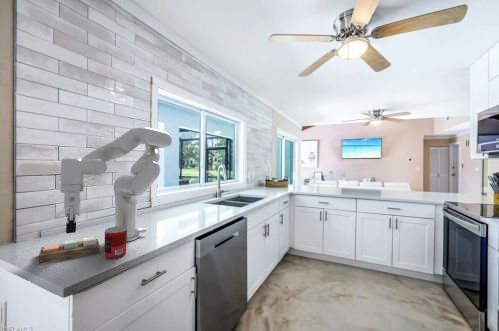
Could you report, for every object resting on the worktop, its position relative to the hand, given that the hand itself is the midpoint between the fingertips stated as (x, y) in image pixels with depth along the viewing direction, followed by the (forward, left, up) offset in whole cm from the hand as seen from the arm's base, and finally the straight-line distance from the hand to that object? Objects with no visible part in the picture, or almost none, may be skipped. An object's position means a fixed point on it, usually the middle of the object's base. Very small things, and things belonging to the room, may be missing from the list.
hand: (71, 232), depth 94 cm
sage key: (0, 0, -7) cm, 7 cm away
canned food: (-15, +12, -9) cm, 21 cm away
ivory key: (-6, 0, -7) cm, 9 cm away
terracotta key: (+6, 0, -8) cm, 10 cm away
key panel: (0, 0, -9) cm, 9 cm away
